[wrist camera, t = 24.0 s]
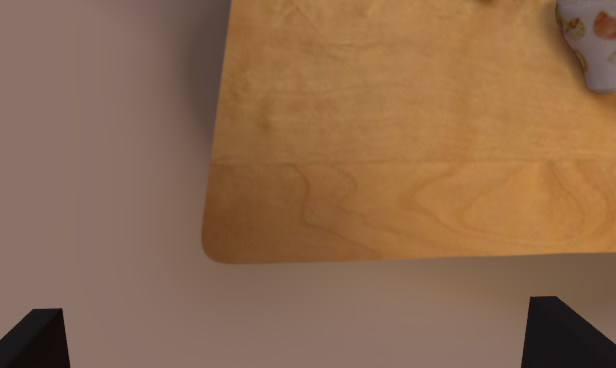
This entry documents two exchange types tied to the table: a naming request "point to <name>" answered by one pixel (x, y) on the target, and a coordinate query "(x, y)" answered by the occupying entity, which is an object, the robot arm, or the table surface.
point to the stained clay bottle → (591, 39)
